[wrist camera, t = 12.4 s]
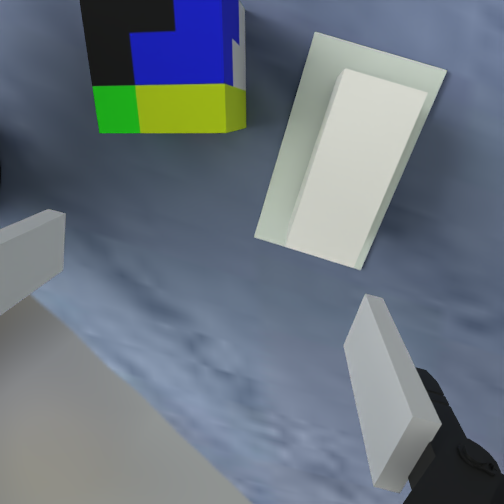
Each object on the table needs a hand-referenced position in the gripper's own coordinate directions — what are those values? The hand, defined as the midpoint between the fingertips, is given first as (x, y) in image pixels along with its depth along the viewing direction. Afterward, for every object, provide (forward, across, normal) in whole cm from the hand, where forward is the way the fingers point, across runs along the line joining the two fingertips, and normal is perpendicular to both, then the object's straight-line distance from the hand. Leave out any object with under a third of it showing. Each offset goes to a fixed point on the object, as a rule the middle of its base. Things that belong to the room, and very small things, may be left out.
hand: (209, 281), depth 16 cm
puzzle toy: (+25, -8, +8) cm, 27 cm away
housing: (+22, +7, +4) cm, 24 cm away
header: (+24, +8, +4) cm, 25 cm away
